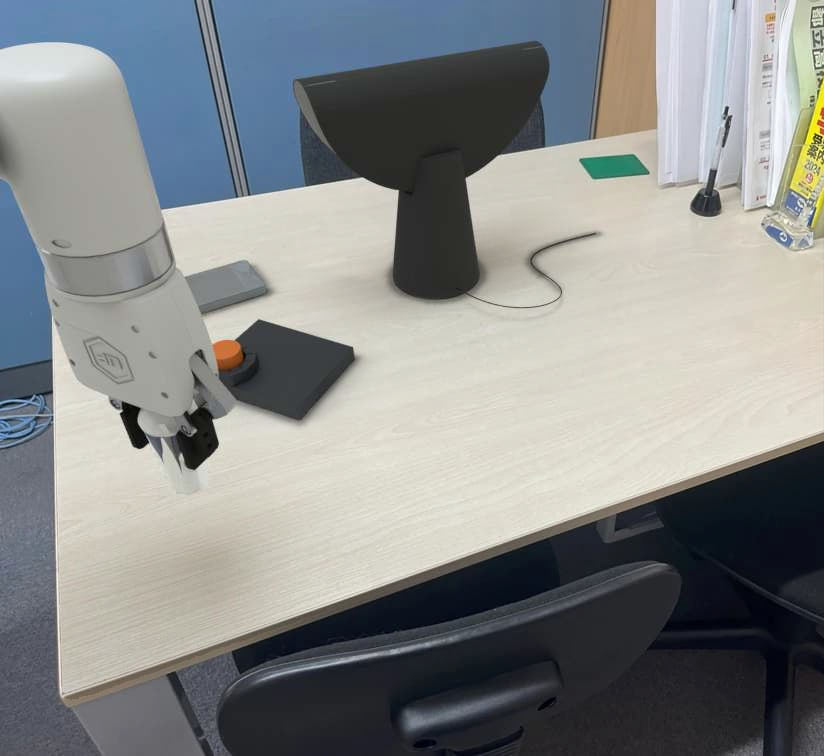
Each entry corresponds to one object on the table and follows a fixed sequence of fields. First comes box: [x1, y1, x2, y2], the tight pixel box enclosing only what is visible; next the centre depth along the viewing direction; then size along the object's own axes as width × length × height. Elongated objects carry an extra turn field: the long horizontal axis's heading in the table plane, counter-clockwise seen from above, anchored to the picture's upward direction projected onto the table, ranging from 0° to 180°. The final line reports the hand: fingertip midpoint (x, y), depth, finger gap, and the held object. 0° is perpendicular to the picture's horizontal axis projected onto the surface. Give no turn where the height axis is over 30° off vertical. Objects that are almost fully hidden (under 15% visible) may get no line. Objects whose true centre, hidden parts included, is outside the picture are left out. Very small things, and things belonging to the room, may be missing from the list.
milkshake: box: [138, 400, 210, 496], centre depth 58 cm, size 5×5×10 cm
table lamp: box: [292, 40, 596, 309], centre depth 95 cm, size 40×28×30 cm
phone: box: [184, 259, 268, 315], centre depth 97 cm, size 8×16×1 cm, turn 125°
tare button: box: [212, 339, 244, 370], centre depth 82 cm, size 4×4×2 cm
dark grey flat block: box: [218, 318, 356, 421], centre depth 85 cm, size 14×13×4 cm
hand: (176, 445), depth 58 cm, fingers closed on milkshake, 4 cm apart
